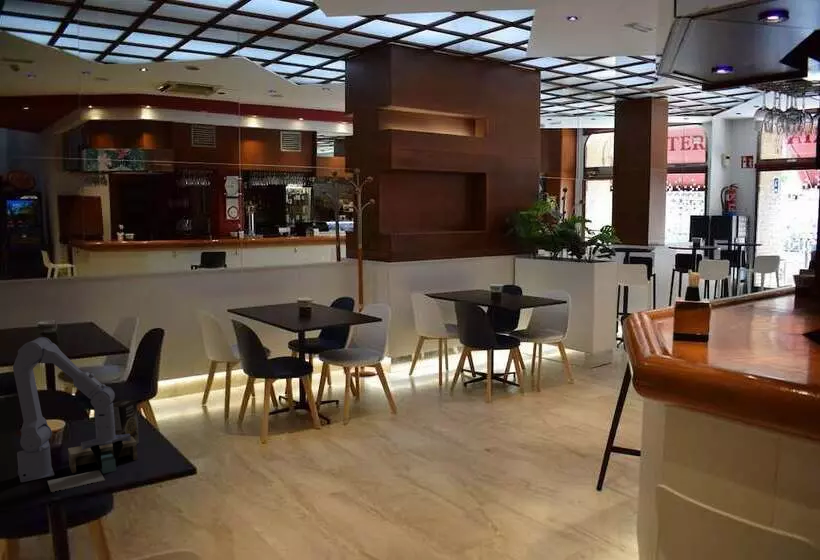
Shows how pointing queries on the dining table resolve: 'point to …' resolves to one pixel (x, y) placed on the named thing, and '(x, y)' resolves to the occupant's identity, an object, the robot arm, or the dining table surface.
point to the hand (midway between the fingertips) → (108, 466)
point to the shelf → (87, 456)
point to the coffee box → (126, 418)
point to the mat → (75, 481)
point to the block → (107, 462)
